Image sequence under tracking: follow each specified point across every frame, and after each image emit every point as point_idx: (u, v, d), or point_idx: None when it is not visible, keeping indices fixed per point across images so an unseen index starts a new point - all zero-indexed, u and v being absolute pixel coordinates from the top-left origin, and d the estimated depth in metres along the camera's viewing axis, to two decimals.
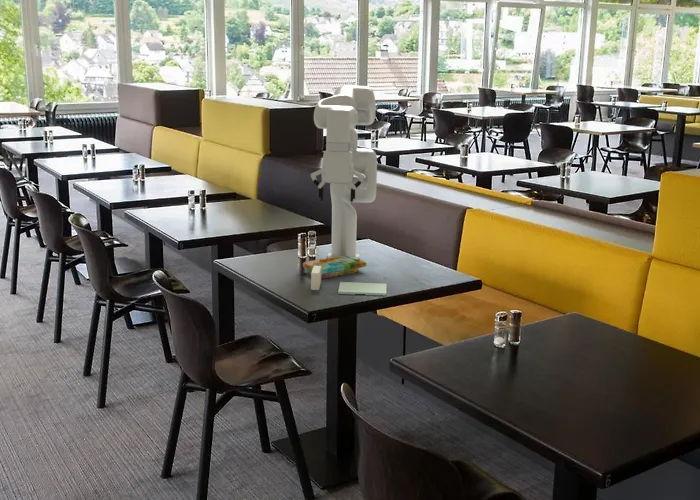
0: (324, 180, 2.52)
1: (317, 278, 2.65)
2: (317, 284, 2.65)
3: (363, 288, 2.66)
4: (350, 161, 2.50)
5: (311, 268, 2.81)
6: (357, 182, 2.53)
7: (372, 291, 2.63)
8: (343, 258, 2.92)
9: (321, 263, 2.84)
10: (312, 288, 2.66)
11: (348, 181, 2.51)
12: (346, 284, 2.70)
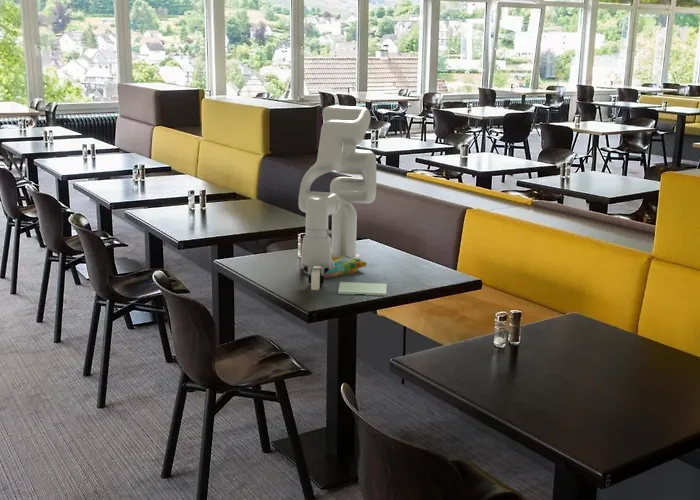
0: (304, 263, 2.66)
1: (317, 278, 2.65)
2: (317, 284, 2.65)
3: (363, 288, 2.66)
4: (328, 246, 2.64)
5: None
6: (325, 268, 2.68)
7: (372, 291, 2.63)
8: (343, 258, 2.92)
9: None
10: (312, 288, 2.66)
11: (326, 264, 2.66)
12: (346, 284, 2.70)
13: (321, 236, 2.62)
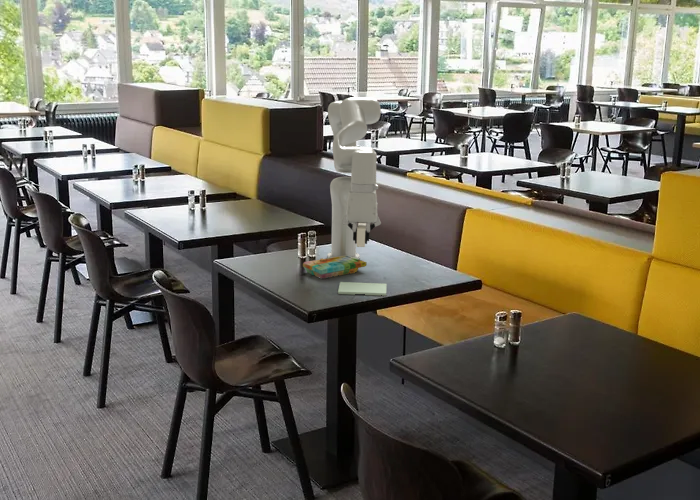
0: (349, 220, 2.59)
1: (363, 234, 2.57)
2: (362, 241, 2.58)
3: (363, 288, 2.66)
4: (374, 201, 2.57)
5: (311, 268, 2.81)
6: (371, 225, 2.60)
7: (372, 291, 2.63)
8: (343, 258, 2.92)
9: (321, 263, 2.84)
10: (358, 245, 2.58)
11: (372, 221, 2.59)
12: (346, 284, 2.70)
13: (367, 191, 2.55)
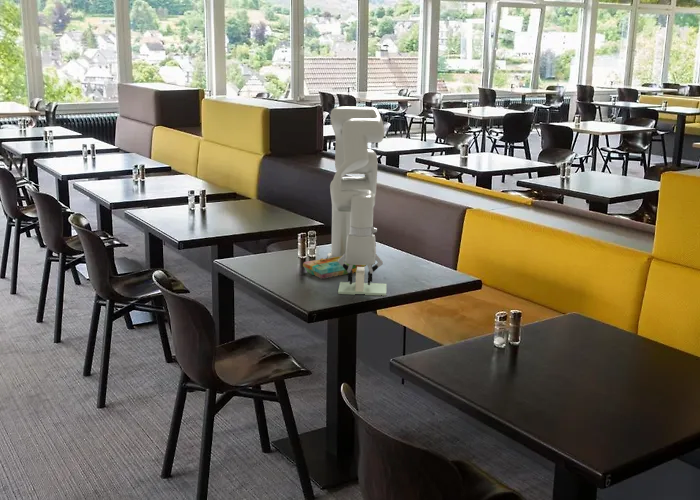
0: (348, 262, 2.63)
1: (362, 279, 2.61)
2: (361, 285, 2.62)
3: None
4: (373, 244, 2.61)
5: (311, 268, 2.81)
6: (374, 266, 2.64)
7: (372, 291, 2.63)
8: None
9: (321, 263, 2.84)
10: (356, 289, 2.62)
11: (371, 263, 2.62)
12: (346, 284, 2.70)
13: (366, 234, 2.59)
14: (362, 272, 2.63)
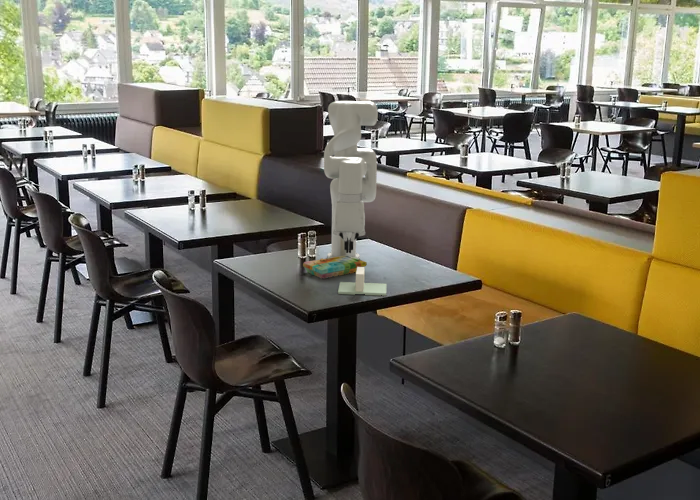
0: (337, 229, 2.60)
1: (362, 279, 2.61)
2: (361, 285, 2.62)
3: None
4: (362, 211, 2.58)
5: (312, 268, 2.81)
6: (355, 234, 2.62)
7: (372, 291, 2.63)
8: (343, 258, 2.92)
9: (321, 263, 2.84)
10: (356, 289, 2.62)
11: (360, 230, 2.60)
12: (346, 284, 2.70)
13: (355, 201, 2.56)
14: (362, 272, 2.63)
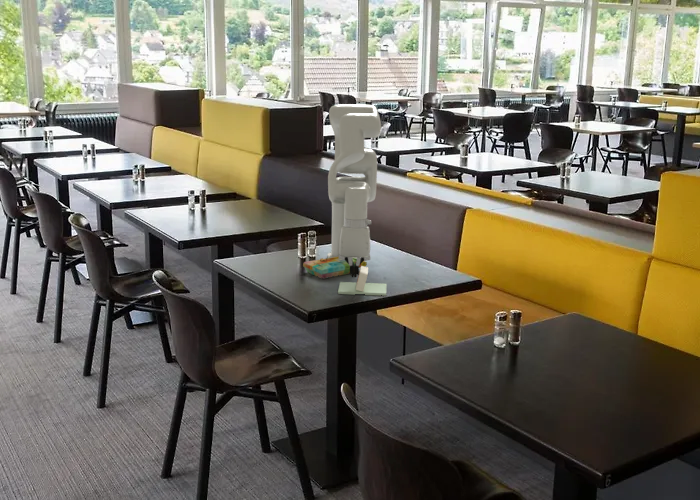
0: (342, 254, 2.62)
1: (364, 279, 2.61)
2: (363, 285, 2.62)
3: None
4: (367, 236, 2.60)
5: (312, 268, 2.81)
6: (360, 259, 2.63)
7: (372, 291, 2.63)
8: None
9: (322, 263, 2.84)
10: (357, 288, 2.62)
11: (365, 255, 2.62)
12: (346, 284, 2.70)
13: (360, 226, 2.58)
14: (366, 272, 2.63)
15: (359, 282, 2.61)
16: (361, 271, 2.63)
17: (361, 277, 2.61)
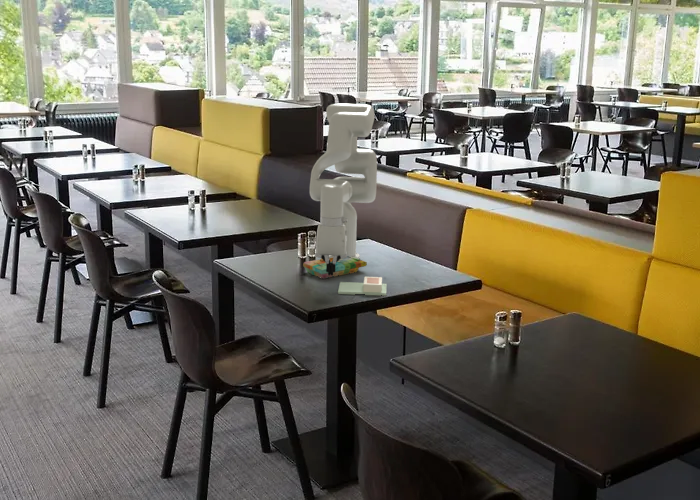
0: (318, 252, 2.63)
1: (375, 290, 2.62)
2: (369, 290, 2.62)
3: None
4: (343, 234, 2.61)
5: (312, 268, 2.81)
6: (337, 257, 2.64)
7: None
8: None
9: (322, 263, 2.84)
10: (365, 285, 2.62)
11: (341, 253, 2.62)
12: (346, 284, 2.70)
13: (336, 224, 2.59)
14: None
15: (371, 286, 2.62)
16: (381, 284, 2.64)
17: (377, 287, 2.62)
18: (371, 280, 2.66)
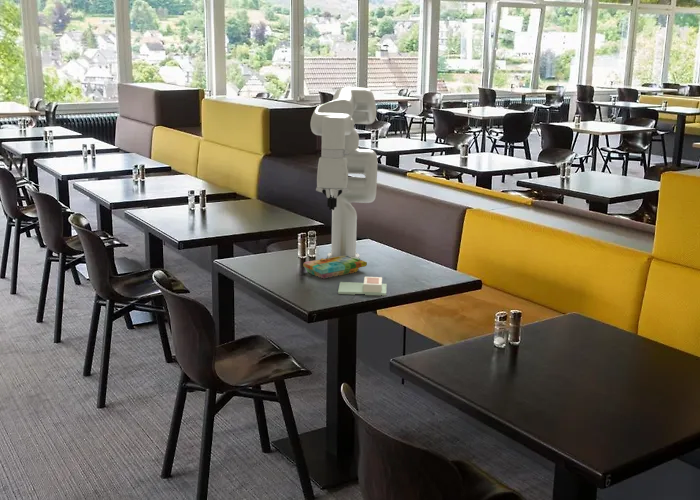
0: (319, 186, 2.58)
1: (375, 290, 2.62)
2: (369, 290, 2.62)
3: None
4: (345, 167, 2.56)
5: (312, 268, 2.81)
6: (338, 191, 2.60)
7: None
8: (343, 258, 2.92)
9: (322, 263, 2.84)
10: (365, 285, 2.62)
11: (343, 187, 2.58)
12: (346, 284, 2.70)
13: (337, 156, 2.54)
14: None
15: (371, 286, 2.62)
16: (381, 284, 2.64)
17: (377, 287, 2.62)
18: (371, 280, 2.66)
